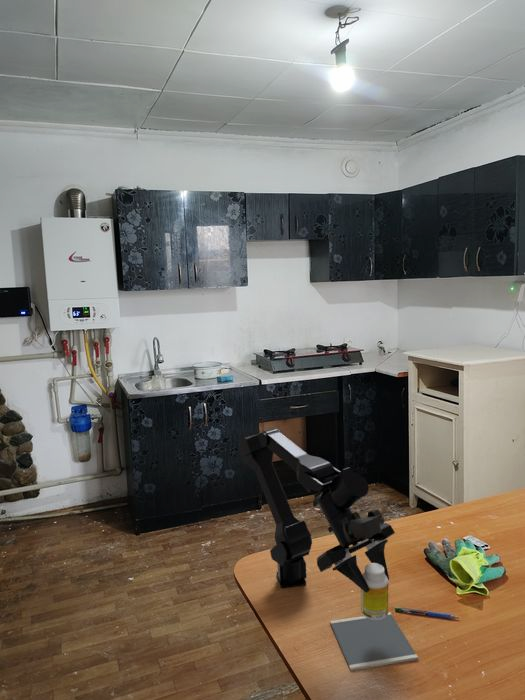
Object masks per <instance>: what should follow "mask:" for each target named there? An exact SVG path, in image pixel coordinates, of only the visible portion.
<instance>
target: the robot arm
mask: <svg viewBox="0 0 525 700" xmlns="http://www.w3.org/2000/svg"><path fill="white" fill-rule="evenodd" d="M237 448H238V449H237V450H238V452H239V455H240V456H241V458H242V459H243V461H244V464H245V465H247V466H248V467H249V468H250V469H251V470H253V472H255V475H256V478H257V479H258V482H259V485H260V487H261V490H262V492H263V495H264V498H265V500H266V503H267V504H268V507H269V509H270V512H271V515H272V517H273V518H272V519H273V521H274V523H275V531H274V532H275V533H274V540H275V545H274V546H273V547H272V548H271V549H270V550H269V553H270V556H271V560H273V561H274V562H275V563H276V564H277V571H276V576H277V580H278V582H279V586H280V588H282V589H285V588H291V587H292V588H293V587H297V586H305V585H307V581H306V579H307V562H306V560H305V558H304V557H306V556H309V555H310V552H311V549H312V545H313V540H312V534H311V532H310V531H309V529H308V526H307V523H306V522H305V520H299V519H298V518H297V517H295V515H294V513H293V510H292V509H291V506H290V502H289V500H288V499H287V496H286V494H285V491H284V489H283V486H282V484H281V482H280V479H279V477H278V474H277V472H276V469H275V467H274V464H273V462H274V461H273V459H274V455H276V456H277V458H279V459H281V461H283V462H284V464H286V465H287V466H288V467H290V469H292V470H293V471H294V472H295V474H296V480H297V481H298V482H299V484H300V485H301V486H302V487H303V488H304V489H305V490H306V492H309V493H314V492H317V493H315V494H314V498H313V502H312V507H314V508H315V507H318V506H319V508H320V510H321V512H322V513H323V515H324V516H325V519H326V521H327V523H328V525H329V527H328V528H327V531H328V533H330V534H331V533H332V532H333V534H334V536H335V537H336V538H335V539H337V541H338V543H339V544H337V545H336V546H334V547H331V548H330V549H327V550H325V552H323V553H322V554H320V555H319V556H317V558H316V565H317V567H318V569H319V571H320V573H322V572H324V571H326V570H328V569H330V568H332V571H337V572H339V573H341V574H342V575H343V576H345V577H346V578H348V579H349V580H350V581H351V582H353V583H354V584H355V585H356V586H358V588H359V589H360V590H361V589H362V590H363V591H365V592H368V591H370V590H369V587H368V585H367V583H366V581H365V579H364V577H363V575H362V574H363V573H362V571H361V570H360V567H359V566H358V560H357V554H354V555H353V556H352V554H353V553H355V552H357V551H359V550H362V549H363V548H366V551H365V552H364V555H365V556H366V557H367V559H368V560H369V562H370V563H378V564H380V565H382V566H383V567H384V573H385V575H386V576H387V578H388V581H389V580H390V577H389V572H388V567H387V562H386V557H385V555H386V554H385V548H386V544H387V543H388V542H389V540H388V538H390V537H391V536H394V534H396V532H395V530H394V529H393V526H392V525H391V524H389V523H387V522H385V519H384V516H383V514H382V513H381V512H380V510H379V509H377V508H376V509H372V510H370V511H368V512H367V515H366V516H364V517H361V515H360V514H359V513H358V512H357V511H354V512H353V511H352V509H351V507H352V506H354V505H356V503H358V502H359V501H360V500H362V499H363V498H364V497H365V496H367V494H368V492H369V483H368V482H367V480H366V478H365V477H363V476H362V475H361V474H360V473H358V472H355V471H353V470H352V468H351V467H345V468H343V469H342V470H339V469H338V468H336V467H334V465H332V464H331V462H329V461H328V460H326V459H324V458H322V457H319V456H314V455H310V454H309V453H307V452H306V451H304V450H303V449H302V448H301V447H299V446H298V445H297V444H296V443H294V442H293V441H292V440H290V438H287V436H285V435H284V434H283V432H282V431H281V430H280V429H279V428H276V427H274V428H270V429H266V430H263V431H261V432H260V433H257V434H254V435H250V436H246V437H243V438H241V439H240V442H239V444H238V446H237ZM333 565H334V567H333Z"/></svg>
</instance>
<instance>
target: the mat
mask: <svg viewBox="0 0 525 700" xmlns="http://www.w3.org/2000/svg"><path fill="white" fill-rule="evenodd" d="M329 622H330V623H329V624H330V626H331V628H332V631H333V634H334V635H335V638H336V640H337V642H338V644H339V647H340V650H341V652H342V654H343V656H344V659H345V661H346V663H347V665H348V668H349V670H350V671H351V672H352V671H353V672H354V671H358V670H364V669H370V668H374V667H375V668H376V667H382V666H388V665H389V666H390V665H394V664H401V663H405V662H411V661H418V660H419V656H418V654H417V653H416V652H415V650H414V649H413V647H412V646H411V644H410V642H409V640H408V638H407V637H406V636H405V634H404V632H403V630H402V629H401V627H400V626H399V625H398V622H397V621H396V620H395V618H394V616H393V615H392V612H390V611H388V614H387V616H386V617H385V618H384V619H382V620H370V619H368V618H366V617H365V616H364V615H362V616H361V615H360V616H355V617H349V618H342V619H336V620H330V621H329Z"/></svg>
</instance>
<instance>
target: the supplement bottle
mask: <svg viewBox="0 0 525 700" xmlns="http://www.w3.org/2000/svg"><path fill="white" fill-rule="evenodd" d="M362 575H363V577H364V579H365V581H366V583H367V585H368V587H369V590H370V591H368V592H365V591H363V590H362V589H361V588H360V610H361V614H362V616H365V617H366V618H368V619H370V620H382V619H384V618H385V617H386V616H387V614H388V612H389V580H388V578H387V576H386V575H385V573H384V567H383V566H382V565H380V564H378V563H371V562H370V563H367V564H366V565H365V567H364V572H363V573H362Z"/></svg>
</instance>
